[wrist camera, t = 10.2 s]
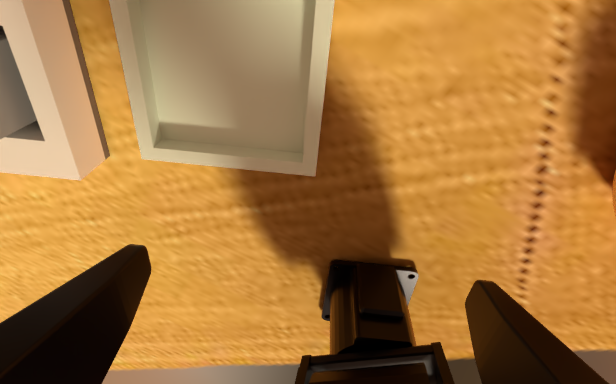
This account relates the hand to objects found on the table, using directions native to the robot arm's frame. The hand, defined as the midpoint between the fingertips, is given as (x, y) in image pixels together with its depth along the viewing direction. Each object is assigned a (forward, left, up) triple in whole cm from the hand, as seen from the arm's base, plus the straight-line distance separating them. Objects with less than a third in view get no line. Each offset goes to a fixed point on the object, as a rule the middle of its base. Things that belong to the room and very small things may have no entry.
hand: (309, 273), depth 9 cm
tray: (+2, +5, -12) cm, 13 cm away
